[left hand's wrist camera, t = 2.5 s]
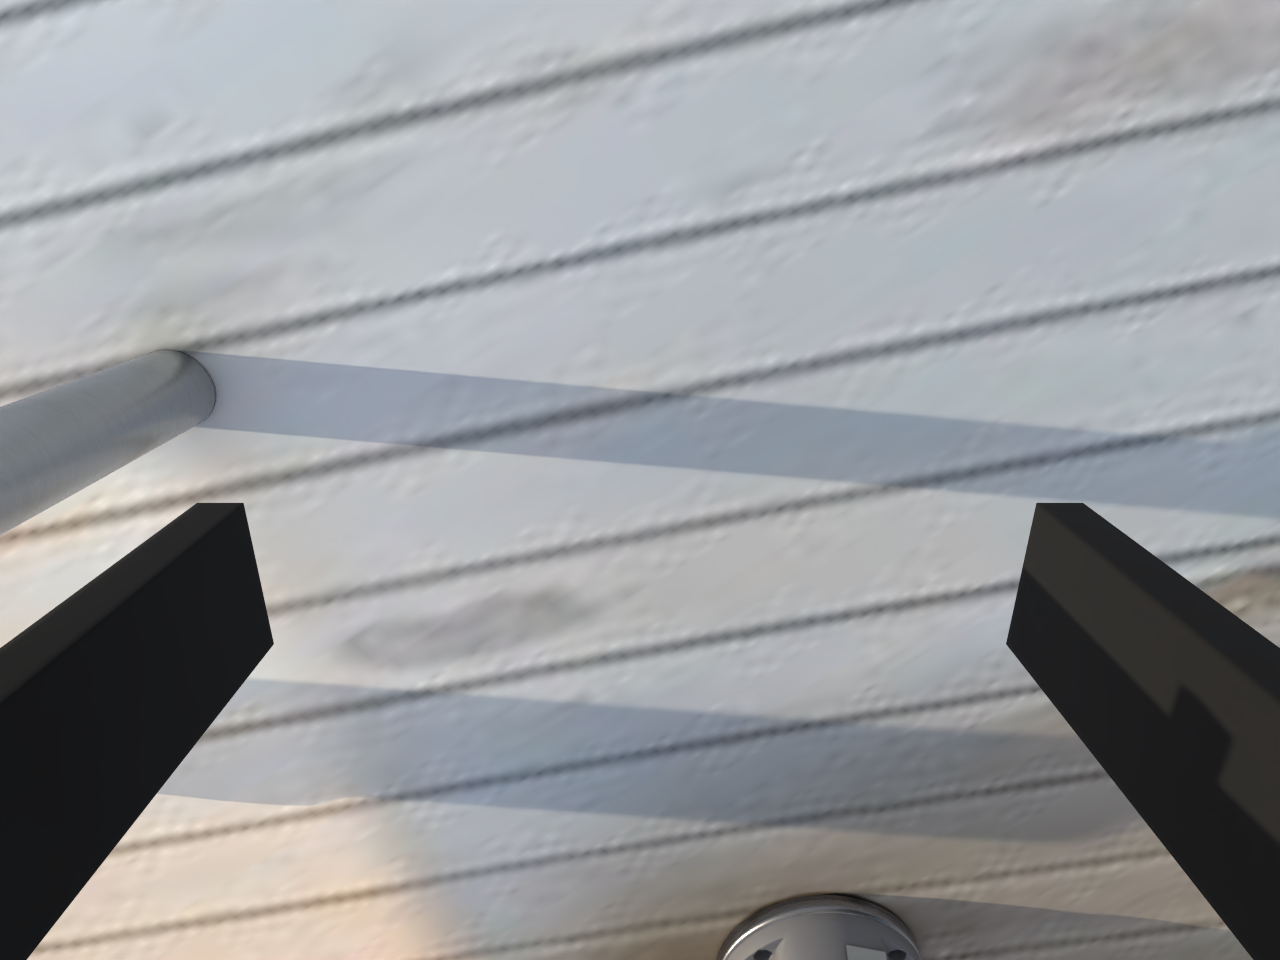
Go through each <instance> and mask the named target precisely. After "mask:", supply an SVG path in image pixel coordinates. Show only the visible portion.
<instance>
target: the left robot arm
mask: <svg viewBox="0 0 1280 960" xmlns="http://www.w3.org/2000/svg"><path fill="white" fill-rule="evenodd" d="M273 644H274V643H273V638H272V634H271V629H270V624H269V620H268V615H267V610H266V606H265V601H264V596H263V592H262V587H261V582H260V578H259V573H258V568H257V564H256V559H255V555H254V550H253V545H252V541H251V536H250V531H249V527H248V522H247V517H246V513H245V508H244V503H196V504H195V505H194V506H192V507H191V508H190V509H188V510H187V511H186V512H184V513H183V514H182V515H180V516H179V517H177V518H176V519H175V520H173V521H172V522H171V523H169V524H168V525H167V526H165V527H164V528H163V529H161V530H160V531H159V532H157V533H156V534H154V535H153V536H152V537H150V538H149V539H148V540H146V541H145V542H144V543H142V544H141V545H140V546H138V547H137V548H135V549H134V550H133V551H131V552H130V553H129V554H127V555H126V556H125V557H123V558H122V559H121V560H119V561H118V562H116V563H115V564H114V565H112V566H111V567H110V568H108V569H107V570H106V571H104V572H103V573H102V574H100V575H99V576H98V577H96V578H95V579H93V580H92V581H91V582H89V583H88V584H87V585H85V586H84V587H83V588H81V589H80V590H79V591H77V592H76V593H74V594H73V595H72V596H70V597H69V598H68V599H66V600H65V601H64V602H62V603H61V604H60V605H58V606H57V607H55V608H54V609H53V610H51V611H50V612H49V613H47V614H46V615H45V616H43V617H42V618H41V619H39V620H38V621H37V622H35V623H34V624H32V625H31V626H30V627H28V628H27V629H26V630H24V631H23V632H22V633H20V634H19V635H18V636H16V637H15V638H13V639H12V640H11V641H9V642H8V643H7V644H5V645H4V646H3V647H1V648H0V960H27V958H28V957H29V956H30V955H31V953H32V952H33V951H34V949H35V948H36V947H37V946H38V944H39V943H40V942H41V940H42V939H43V938H44V937H45V935H46V934H47V933H48V932H49V930H50V929H51V928H52V926H53V925H54V924H55V923H56V921H57V920H58V919H59V917H60V916H61V915H62V914H63V912H64V911H65V910H66V909H67V907H68V906H69V905H70V903H71V902H72V901H73V900H74V898H75V897H76V896H77V895H78V893H79V892H80V891H81V889H82V888H83V887H84V886H85V884H86V883H87V882H88V880H89V879H90V878H91V877H92V875H93V874H94V873H95V872H96V870H97V869H98V868H99V866H100V865H101V864H102V863H103V861H104V860H105V859H106V857H107V856H108V855H109V854H110V852H111V851H112V850H113V849H114V847H115V846H116V845H117V843H118V842H119V841H120V840H121V838H122V837H123V836H124V835H125V833H126V832H127V831H128V829H129V828H130V827H131V826H132V824H133V823H134V822H135V820H136V819H137V818H138V817H139V815H140V814H141V813H142V812H143V810H144V809H145V808H146V806H147V805H148V804H149V803H150V801H151V800H152V799H153V797H154V796H155V795H156V794H157V792H158V791H159V790H160V789H161V787H162V786H163V785H164V783H165V782H166V781H167V780H168V778H169V777H170V776H171V774H172V773H173V772H174V771H175V769H176V768H177V767H178V766H179V764H180V763H181V762H182V760H183V759H184V758H185V757H186V755H187V754H188V753H189V752H190V750H191V749H192V748H193V746H194V745H195V744H196V743H197V741H198V740H199V739H200V737H201V736H202V735H203V734H204V732H205V731H206V730H207V729H208V727H209V726H210V725H211V723H212V722H213V721H214V720H215V718H216V717H217V716H218V714H219V713H220V712H221V711H222V709H223V708H224V707H225V706H226V704H227V703H228V702H229V700H230V699H231V698H232V697H233V695H234V694H235V693H236V691H237V690H238V689H239V688H240V686H241V685H242V684H243V683H244V681H245V680H246V679H247V677H248V676H249V675H250V674H251V672H252V671H253V670H254V669H255V667H256V666H257V665H258V663H259V662H260V661H261V660H262V658H263V657H264V656H265V654H266V653H267V652H268V651H269V649H270V648H271V647H272V646H273ZM1006 644H1007V646H1008V647H1009V648H1010V649H1011V651H1012V652H1013V653H1014V654H1015V656H1016V657H1017V658H1018V660H1019V661H1020V662H1021V663H1022V665H1023V666H1024V667H1025V669H1026V670H1027V671H1028V672H1029V674H1030V675H1031V676H1032V677H1033V679H1034V680H1035V681H1036V683H1037V684H1038V685H1039V686H1040V688H1041V689H1042V690H1043V692H1044V693H1045V694H1046V695H1047V697H1048V698H1049V699H1050V700H1051V702H1052V703H1053V704H1054V706H1055V707H1056V708H1057V709H1058V711H1059V712H1060V713H1061V714H1062V716H1063V717H1064V718H1065V720H1066V721H1067V722H1068V723H1069V725H1070V726H1071V727H1072V729H1073V730H1074V731H1075V732H1076V734H1077V735H1078V736H1079V737H1080V739H1081V740H1082V741H1083V743H1084V744H1085V745H1086V746H1087V748H1088V749H1089V750H1090V752H1091V753H1092V754H1093V755H1094V757H1095V758H1096V759H1097V760H1098V762H1099V763H1100V764H1101V766H1102V767H1103V768H1104V769H1105V771H1106V772H1107V773H1108V774H1109V776H1110V777H1111V778H1112V780H1113V781H1114V782H1115V783H1116V785H1117V786H1118V787H1119V789H1120V790H1121V791H1122V792H1123V794H1124V795H1125V796H1126V797H1127V799H1128V800H1129V801H1130V803H1131V804H1132V805H1133V806H1134V808H1135V809H1136V810H1137V812H1138V813H1139V814H1140V815H1141V817H1142V818H1143V819H1144V820H1145V822H1146V823H1147V824H1148V826H1149V827H1150V828H1151V829H1152V831H1153V832H1154V833H1155V835H1156V836H1157V837H1158V838H1159V840H1160V841H1161V842H1162V843H1163V845H1164V846H1165V847H1166V849H1167V850H1168V851H1169V852H1170V854H1171V855H1172V856H1173V857H1174V859H1175V860H1176V861H1177V863H1178V864H1179V865H1180V866H1181V868H1182V869H1183V870H1184V872H1185V873H1186V874H1187V875H1188V877H1189V878H1190V879H1191V880H1192V882H1193V883H1194V884H1195V886H1196V887H1197V888H1198V889H1199V891H1200V892H1201V893H1202V895H1203V896H1204V897H1205V898H1206V900H1207V901H1208V902H1209V903H1210V905H1211V906H1212V907H1213V909H1214V910H1215V911H1216V912H1217V914H1218V915H1219V916H1220V917H1221V919H1222V920H1223V921H1224V923H1225V924H1226V925H1227V926H1228V928H1229V929H1230V930H1231V932H1232V933H1233V934H1234V935H1235V937H1236V938H1237V939H1238V940H1239V942H1240V943H1241V944H1242V946H1243V947H1244V948H1245V949H1246V951H1247V952H1248V953H1249V955H1250V956H1251V957H1252V958H1253V960H1280V648H1279V647H1277V646H1276V645H1275V644H1273V643H1272V642H1271V641H1269V640H1268V639H1267V638H1265V637H1264V636H1262V635H1261V634H1260V633H1258V632H1257V631H1256V630H1254V629H1253V628H1252V627H1250V626H1249V625H1248V624H1246V623H1245V622H1243V621H1242V620H1241V619H1239V618H1238V617H1237V616H1235V615H1234V614H1233V613H1231V612H1230V611H1229V610H1227V609H1226V608H1225V607H1223V606H1222V605H1220V604H1219V603H1218V602H1216V601H1215V600H1214V599H1212V598H1211V597H1210V596H1208V595H1207V594H1206V593H1204V592H1203V591H1201V590H1200V589H1199V588H1197V587H1196V586H1195V585H1193V584H1192V583H1191V582H1189V581H1188V580H1187V579H1185V578H1184V577H1182V576H1181V575H1180V574H1178V573H1177V572H1176V571H1174V570H1173V569H1172V568H1170V567H1169V566H1168V565H1166V564H1165V563H1164V562H1162V561H1161V560H1159V559H1158V558H1157V557H1155V556H1154V555H1153V554H1151V553H1150V552H1149V551H1147V550H1146V549H1145V548H1143V547H1142V546H1140V545H1139V544H1138V543H1136V542H1135V541H1134V540H1132V539H1131V538H1130V537H1128V536H1127V535H1126V534H1124V533H1123V532H1121V531H1120V530H1119V529H1117V528H1116V527H1115V526H1113V525H1112V524H1111V523H1109V522H1108V521H1107V520H1105V519H1104V518H1103V517H1101V516H1100V515H1098V514H1097V513H1096V512H1094V511H1093V510H1092V509H1090V508H1089V507H1088V506H1086V505H1085V504H1084V503H1036V508H1035V513H1034V517H1033V522H1032V527H1031V531H1030V536H1029V541H1028V545H1027V550H1026V554H1025V559H1024V564H1023V568H1022V573H1021V578H1020V582H1019V587H1018V592H1017V596H1016V601H1015V606H1014V610H1013V615H1012V620H1011V624H1010V629H1009V634H1008V638H1007V643H1006ZM717 960H922V959H921V956H920V954H919V951H918V948H917V945H916V942H915V940H914V938H913V936H912V934H911V932H910V931H909V929H908V928H907V927H906V926H905V924H904V923H903V922H902V921H901V920H900V919H898V918H897V917H896V916H895V915H893V914H892V913H891V912H889V911H887V910H886V909H884V908H882V907H880V906H878V905H876V904H873V903H870V902H868V901H864V900H861V899H857V898H852V897H847V896H838V895H814V896H805V897H799V898H794V899H790V900H786V901H782V902H779V903H776V904H774V905H771V906H769V907H766V908H764V909H762V910H760V911H758V912H756V913H755V914H753V915H752V916H750V917H748V918H747V919H746V920H744V921H743V922H742V923H741V924H739V925H738V926H737V927H736V928H735V929H734V930H733V931H732V932H731V933H730V934H729V936H728V937H727V939H726V940H725V941H724V943H723V945H722V947H721V949H720V951H719V954H718V957H717Z"/></svg>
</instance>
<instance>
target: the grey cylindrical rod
mask: <svg viewBox="0 0 1280 960" xmlns="http://www.w3.org/2000/svg"><path fill="white" fill-rule="evenodd" d="M214 405H215V388H214V384H213V382H212V379H211V378H210V376H209V374H208V373H207V371H206V370H205V369H204V368H203V366H202V365H201V364H199V363H198V362H197V361H196V360H194V359H193V358H191V357H190V356H188V355H186V354H184V353H181V352H178V351H174V350H158V351H154V352H151V353H149V354H146V355H143V356H140V357H138V358H135V359H132V360H129V361H127V362H124V363H121V364H118V365H115V366H113V367H110V368H107V369H104V370H102V371H99V372H96V373H93V374H90V375H88V376H85V377H82V378H79V379H77V380H74V381H71V382H68V383H65V384H63V385H60V386H57V387H54V388H52V389H49V390H46V391H43V392H41V393H38V394H35V395H32V396H29V397H27V398H24V399H21V400H18V401H16V402H13V403H10V404H7V405H4V406H2V407H0V535H1V534H3V533H5V532H7V531H9V530H10V529H12V528H14V527H16V526H18V525H19V524H21V523H23V522H25V521H26V520H28V519H30V518H32V517H34V516H35V515H37V514H39V513H41V512H42V511H44V510H46V509H48V508H50V507H51V506H53V505H55V504H57V503H59V502H60V501H62V500H64V499H66V498H67V497H69V496H71V495H73V494H75V493H76V492H78V491H80V490H82V489H83V488H85V487H87V486H89V485H91V484H92V483H94V482H96V481H98V480H100V479H101V478H103V477H105V476H107V475H108V474H110V473H112V472H114V471H116V470H117V469H119V468H121V467H123V466H124V465H126V464H128V463H130V462H132V461H133V460H135V459H137V458H139V457H141V456H142V455H144V454H146V453H148V452H149V451H151V450H153V449H155V448H157V447H158V446H160V445H162V444H164V443H165V442H167V441H169V440H171V439H173V438H174V437H176V436H178V435H180V434H182V433H183V432H185V431H187V430H189V429H190V428H192V427H194V426H196V425H198V424H199V423H201V422H203V421H204V420H205V419H206V418H207V417H208V416H209V415H210V414H211V412H212V410H213V408H214Z"/></svg>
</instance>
